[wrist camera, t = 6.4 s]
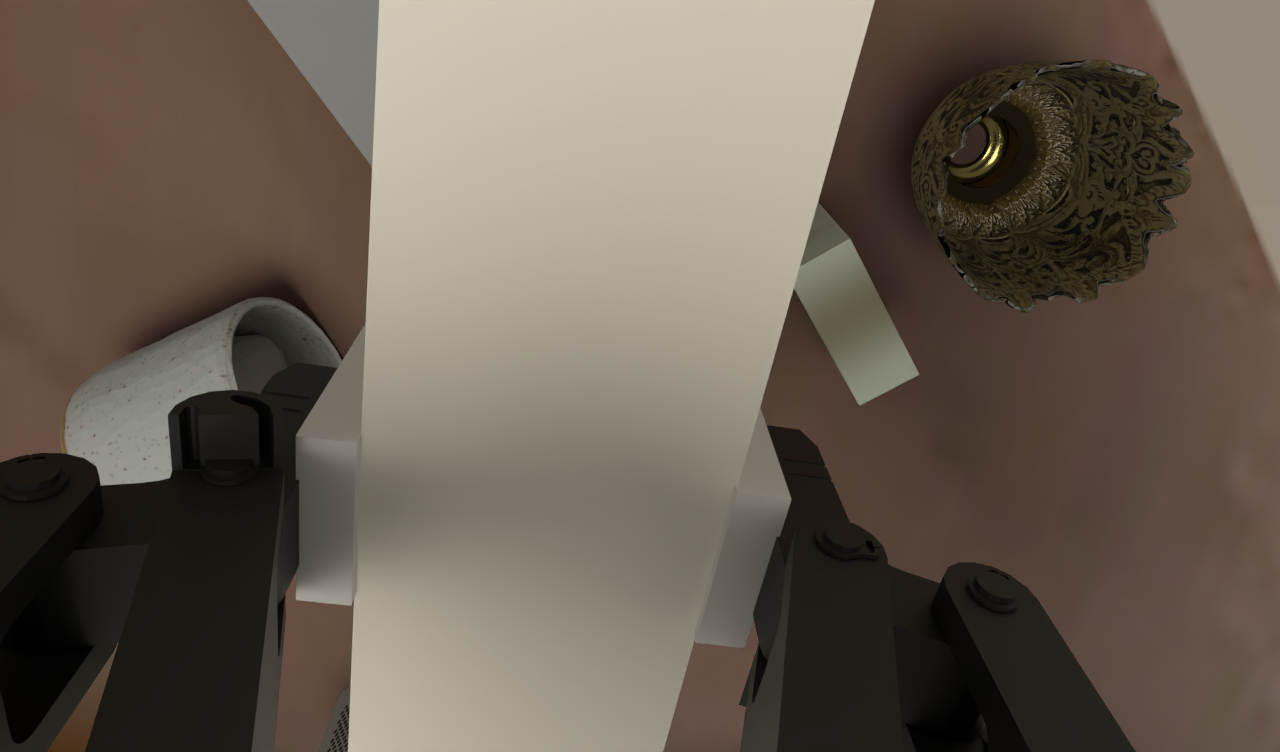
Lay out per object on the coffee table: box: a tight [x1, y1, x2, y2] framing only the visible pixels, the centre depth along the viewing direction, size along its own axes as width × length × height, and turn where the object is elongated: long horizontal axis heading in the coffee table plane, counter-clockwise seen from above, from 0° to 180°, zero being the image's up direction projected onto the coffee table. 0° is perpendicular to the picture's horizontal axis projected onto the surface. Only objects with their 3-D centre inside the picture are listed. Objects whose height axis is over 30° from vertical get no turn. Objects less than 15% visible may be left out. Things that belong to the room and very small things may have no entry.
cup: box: [911, 60, 1194, 313], centre depth 28 cm, size 8×7×8 cm
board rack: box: [794, 202, 919, 406], centre depth 33 cm, size 6×14×5 cm, turn 121°
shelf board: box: [348, 0, 875, 752], centre depth 13 cm, size 16×5×2 cm, turn 170°
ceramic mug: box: [60, 297, 342, 485], centre depth 33 cm, size 11×8×8 cm
